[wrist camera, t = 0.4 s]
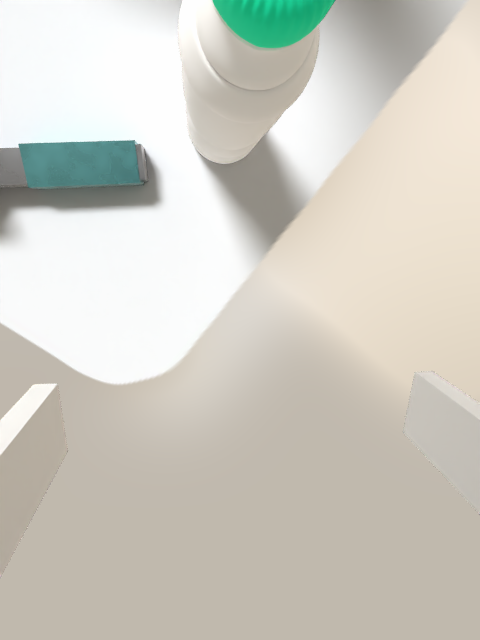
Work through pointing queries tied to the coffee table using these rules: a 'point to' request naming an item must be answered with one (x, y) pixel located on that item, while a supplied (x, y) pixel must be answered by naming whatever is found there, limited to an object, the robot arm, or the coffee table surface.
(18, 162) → the ratchet
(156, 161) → the coffee table surface
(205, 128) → the water bottle
